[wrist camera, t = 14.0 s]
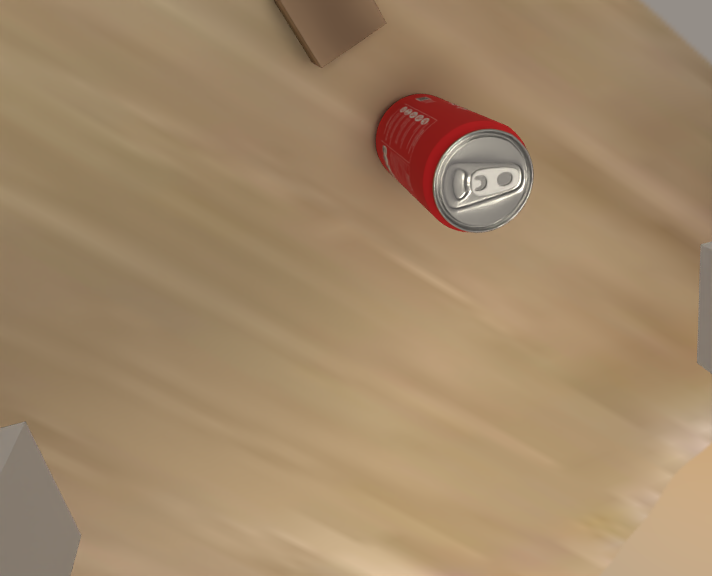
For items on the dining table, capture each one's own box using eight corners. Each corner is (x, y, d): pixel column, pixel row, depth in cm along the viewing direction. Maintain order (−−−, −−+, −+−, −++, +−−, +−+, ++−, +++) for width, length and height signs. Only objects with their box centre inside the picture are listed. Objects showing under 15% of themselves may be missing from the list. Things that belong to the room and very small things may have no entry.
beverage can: (367, 97, 39) (424, 132, 28) (452, 86, 40) (539, 115, 29) (376, 183, 41) (431, 246, 30) (456, 171, 42) (538, 228, 31)
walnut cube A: (312, 62, 38) (321, 67, 34) (271, -3, 36) (277, -5, 32) (370, 21, 37) (386, 23, 34) (332, -46, 36) (345, -52, 32)
